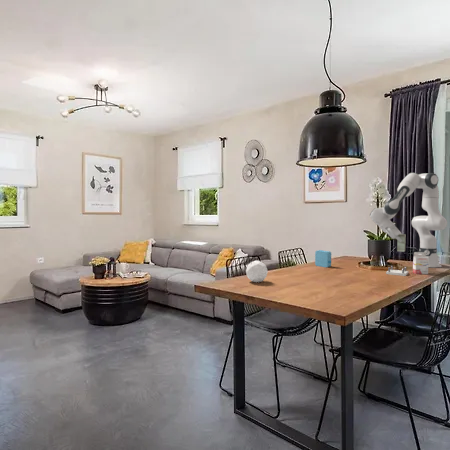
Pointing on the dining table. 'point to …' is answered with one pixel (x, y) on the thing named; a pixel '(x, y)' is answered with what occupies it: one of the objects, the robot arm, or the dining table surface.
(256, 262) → the geodesic sphere
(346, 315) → the dining table surface
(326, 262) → the data package
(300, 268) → the dining table surface
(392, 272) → the mounting plate
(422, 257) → the ink cartridge box
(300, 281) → the dining table surface
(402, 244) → the sage spacer block
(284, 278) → the dining table surface
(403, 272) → the standoff pins
